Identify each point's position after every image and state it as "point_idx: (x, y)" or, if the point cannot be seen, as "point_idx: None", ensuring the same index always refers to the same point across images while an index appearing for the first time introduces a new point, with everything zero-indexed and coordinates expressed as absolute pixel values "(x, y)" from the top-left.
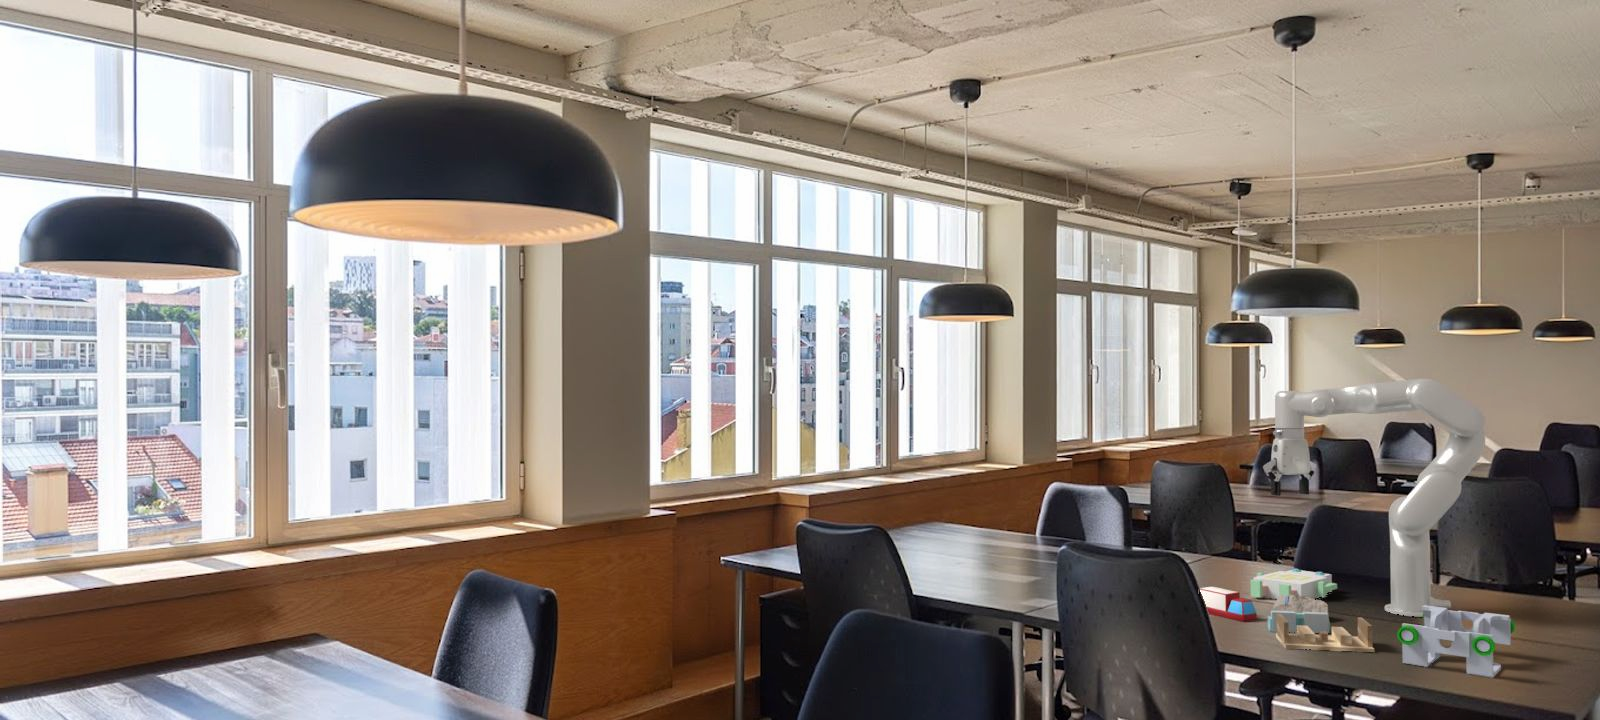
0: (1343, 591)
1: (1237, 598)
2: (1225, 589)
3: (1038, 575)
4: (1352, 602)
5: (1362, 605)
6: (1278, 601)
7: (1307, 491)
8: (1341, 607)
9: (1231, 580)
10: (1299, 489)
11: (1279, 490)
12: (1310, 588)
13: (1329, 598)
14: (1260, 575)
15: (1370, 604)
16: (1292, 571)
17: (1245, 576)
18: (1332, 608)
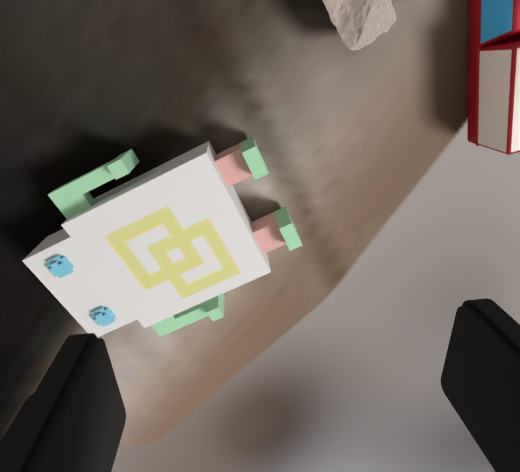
0: (5, 242)
1: (514, 42)
2: (515, 101)
3: None
4: (54, 114)
5: (46, 67)
6: (380, 23)
7: (81, 352)
8: (126, 61)
9: (207, 386)
10: (115, 449)
11: (516, 333)
12: (156, 173)
13: None
14: (219, 306)
15: (13, 73)
16: (115, 316)
17: (153, 411)
18: (161, 57)
